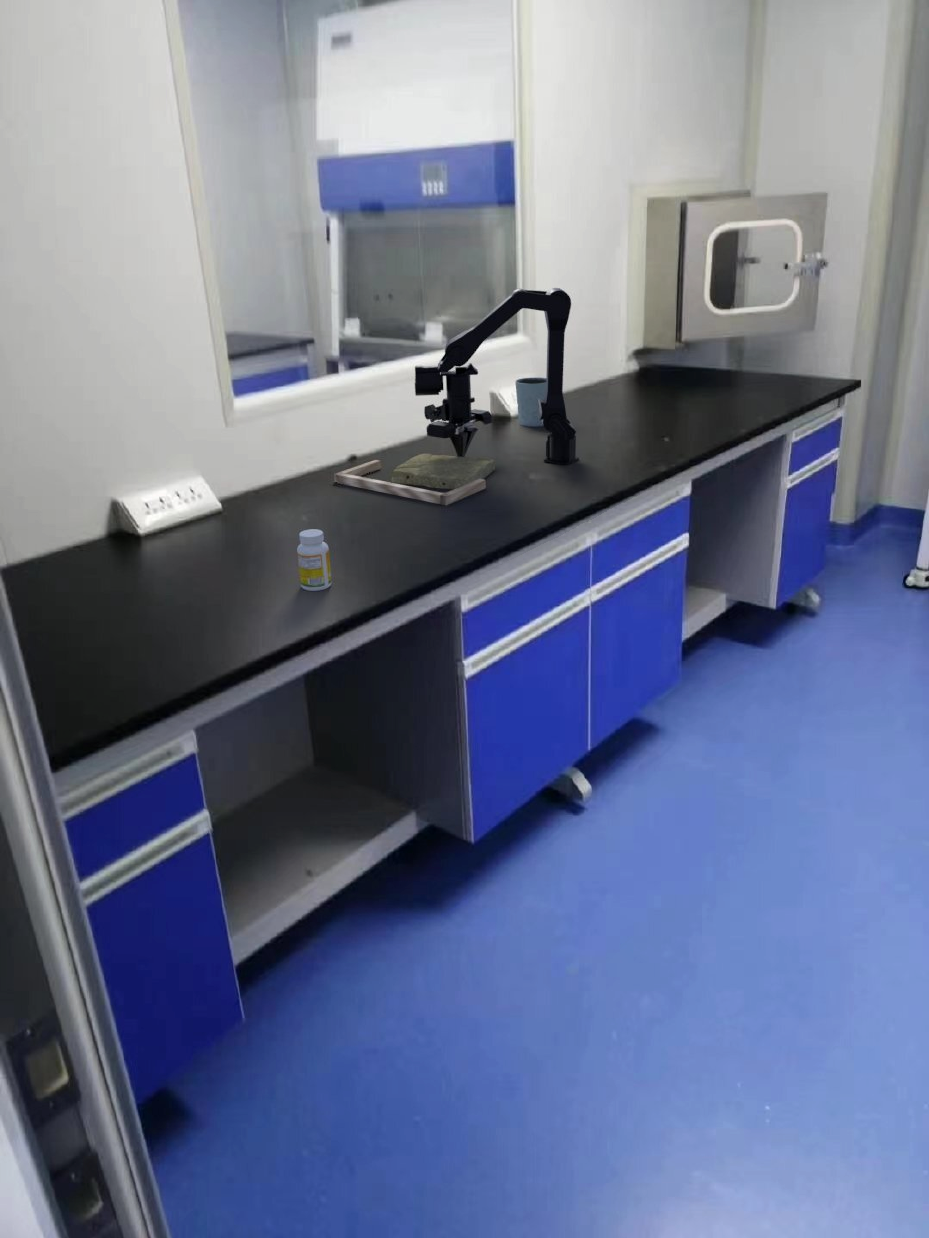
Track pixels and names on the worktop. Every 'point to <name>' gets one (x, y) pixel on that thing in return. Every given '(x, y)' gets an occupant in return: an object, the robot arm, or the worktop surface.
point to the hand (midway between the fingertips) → (461, 458)
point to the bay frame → (447, 498)
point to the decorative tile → (442, 471)
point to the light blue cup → (530, 400)
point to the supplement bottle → (313, 561)
